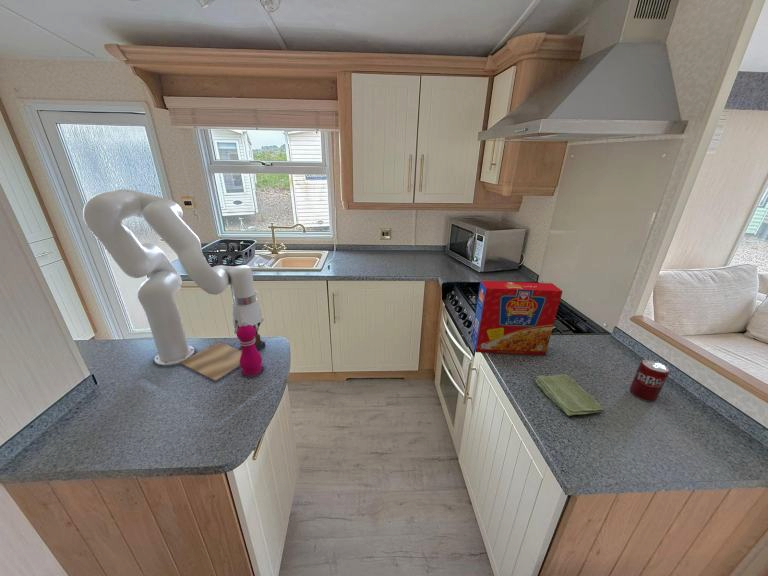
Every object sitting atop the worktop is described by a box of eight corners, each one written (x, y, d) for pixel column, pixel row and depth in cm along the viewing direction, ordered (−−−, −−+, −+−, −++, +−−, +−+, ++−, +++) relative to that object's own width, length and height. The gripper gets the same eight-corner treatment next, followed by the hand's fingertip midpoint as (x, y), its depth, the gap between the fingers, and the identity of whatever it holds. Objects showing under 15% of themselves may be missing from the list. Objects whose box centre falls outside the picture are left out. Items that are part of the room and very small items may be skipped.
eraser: (240, 345, 121) (238, 333, 119) (249, 340, 125) (247, 328, 123) (256, 352, 118) (254, 339, 116) (265, 346, 121) (263, 334, 119)
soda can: (631, 384, 107) (643, 356, 103) (657, 395, 102) (671, 365, 98) (627, 394, 102) (639, 365, 98) (654, 406, 98) (669, 375, 93)
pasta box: (475, 352, 123) (486, 288, 113) (470, 341, 131) (480, 280, 120) (545, 355, 123) (562, 291, 112) (536, 344, 130) (552, 283, 120)
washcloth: (568, 420, 91) (570, 411, 90) (531, 381, 107) (533, 373, 106) (605, 414, 94) (608, 406, 92) (564, 377, 110) (566, 370, 109)
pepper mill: (255, 379, 104) (247, 328, 97) (237, 376, 106) (227, 325, 98) (267, 366, 111) (260, 318, 103) (249, 364, 112) (241, 315, 105)
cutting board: (179, 364, 111) (179, 362, 111) (219, 343, 124) (219, 341, 124) (215, 382, 102) (215, 380, 102) (254, 357, 116) (254, 356, 115)
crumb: (237, 350, 120) (237, 348, 120) (244, 346, 123) (243, 344, 122) (243, 352, 119) (242, 350, 118) (249, 348, 121) (249, 346, 121)
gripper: (255, 289, 122) (261, 329, 129) (218, 304, 109) (227, 348, 116) (269, 293, 119) (274, 334, 126) (232, 309, 105) (241, 354, 112)
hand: (251, 340), depth 121 cm, fingers closed on eraser, 2 cm apart
